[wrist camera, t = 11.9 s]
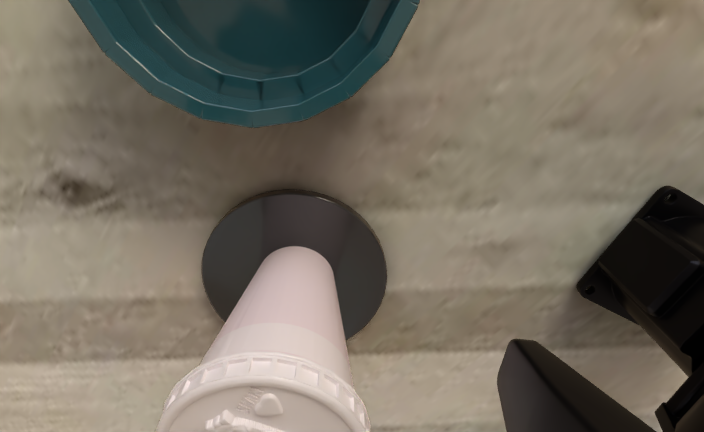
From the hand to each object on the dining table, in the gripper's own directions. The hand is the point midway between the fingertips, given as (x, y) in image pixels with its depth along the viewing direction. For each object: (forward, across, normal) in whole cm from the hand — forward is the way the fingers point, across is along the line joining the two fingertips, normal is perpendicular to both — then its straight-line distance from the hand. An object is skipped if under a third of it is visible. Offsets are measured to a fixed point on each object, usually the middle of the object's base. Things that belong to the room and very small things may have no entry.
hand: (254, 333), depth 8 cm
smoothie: (+13, 0, +7) cm, 14 cm away
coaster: (+13, 0, +7) cm, 15 cm away
